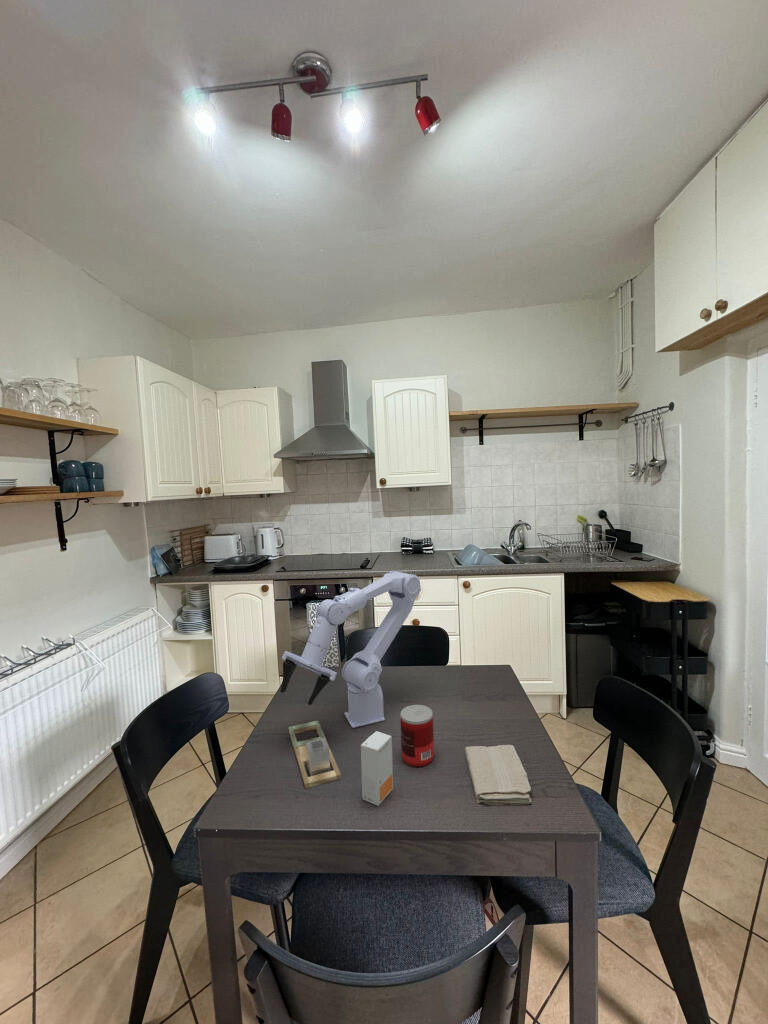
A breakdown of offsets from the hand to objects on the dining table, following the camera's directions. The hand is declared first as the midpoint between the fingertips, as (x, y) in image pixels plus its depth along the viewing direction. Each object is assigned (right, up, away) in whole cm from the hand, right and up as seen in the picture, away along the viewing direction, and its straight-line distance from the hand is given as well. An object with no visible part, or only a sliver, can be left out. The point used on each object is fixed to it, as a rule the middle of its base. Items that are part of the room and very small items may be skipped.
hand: (296, 698), depth 109 cm
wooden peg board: (+4, -13, -2) cm, 14 cm away
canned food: (+30, -12, -5) cm, 33 cm away
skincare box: (+21, -13, -17) cm, 30 cm away
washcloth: (+47, -13, -12) cm, 50 cm away
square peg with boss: (+7, -13, -8) cm, 17 cm away
